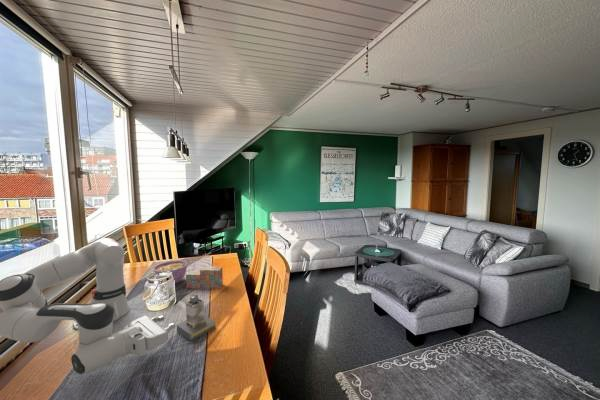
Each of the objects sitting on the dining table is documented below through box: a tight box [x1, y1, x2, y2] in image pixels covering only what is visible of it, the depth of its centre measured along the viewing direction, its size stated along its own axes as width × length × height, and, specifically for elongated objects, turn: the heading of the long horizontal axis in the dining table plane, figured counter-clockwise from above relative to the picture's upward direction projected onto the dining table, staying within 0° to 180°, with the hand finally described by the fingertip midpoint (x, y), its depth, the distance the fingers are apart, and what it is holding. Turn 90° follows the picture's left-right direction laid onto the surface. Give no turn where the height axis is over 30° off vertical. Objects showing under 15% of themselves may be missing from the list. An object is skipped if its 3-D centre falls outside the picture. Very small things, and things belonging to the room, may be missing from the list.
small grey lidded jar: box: [185, 297, 206, 329], centre depth 113 cm, size 6×6×10 cm
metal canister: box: [189, 294, 200, 305], centre depth 113 cm, size 3×3×3 cm
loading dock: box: [176, 315, 217, 342], centre depth 114 cm, size 12×12×3 cm
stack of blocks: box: [185, 266, 224, 290], centre depth 158 cm, size 21×6×12 cm, turn 88°
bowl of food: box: [153, 260, 188, 284], centre depth 164 cm, size 20×20×12 cm
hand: (168, 321), depth 104 cm, fingers open, 8 cm apart
